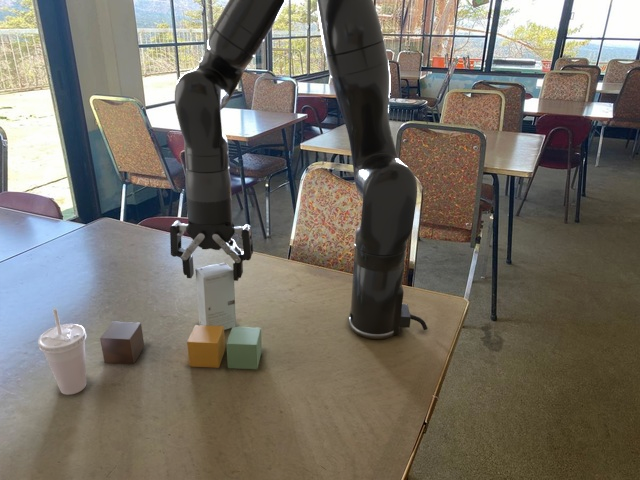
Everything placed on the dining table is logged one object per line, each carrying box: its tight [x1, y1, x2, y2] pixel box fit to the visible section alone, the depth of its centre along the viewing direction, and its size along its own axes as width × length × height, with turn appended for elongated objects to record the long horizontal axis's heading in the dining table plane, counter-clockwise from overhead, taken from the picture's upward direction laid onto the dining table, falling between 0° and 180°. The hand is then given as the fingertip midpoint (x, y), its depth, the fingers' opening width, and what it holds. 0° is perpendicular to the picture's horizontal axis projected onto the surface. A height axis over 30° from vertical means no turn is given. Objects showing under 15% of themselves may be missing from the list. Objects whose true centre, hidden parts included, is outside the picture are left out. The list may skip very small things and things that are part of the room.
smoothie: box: [37, 307, 87, 396], centre depth 73 cm, size 6×6×14 cm
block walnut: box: [99, 321, 145, 365], centre depth 82 cm, size 5×5×5 cm
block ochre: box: [186, 324, 226, 369], centre depth 82 cm, size 5×5×5 cm
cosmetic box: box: [194, 262, 237, 331], centre depth 90 cm, size 6×4×12 cm
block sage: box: [225, 326, 263, 370], centre depth 82 cm, size 5×5×5 cm
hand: (213, 277), depth 88 cm, fingers open, 8 cm apart
